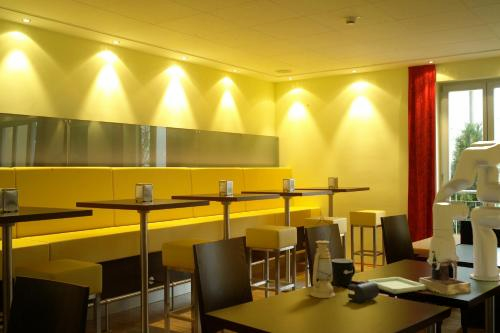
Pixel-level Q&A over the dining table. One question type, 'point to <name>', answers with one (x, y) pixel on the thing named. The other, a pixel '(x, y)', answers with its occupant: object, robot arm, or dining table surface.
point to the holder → (446, 286)
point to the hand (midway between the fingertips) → (443, 278)
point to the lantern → (322, 270)
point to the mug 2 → (445, 273)
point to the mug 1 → (342, 271)
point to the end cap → (363, 292)
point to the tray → (398, 285)
